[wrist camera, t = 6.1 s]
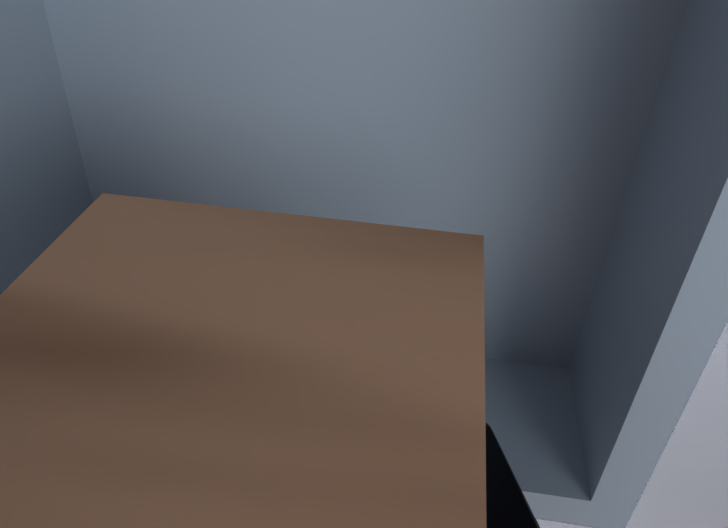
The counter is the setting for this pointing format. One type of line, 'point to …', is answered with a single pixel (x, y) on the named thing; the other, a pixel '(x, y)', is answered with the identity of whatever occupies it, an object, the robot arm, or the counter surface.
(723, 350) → the counter surface
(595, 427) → the tote
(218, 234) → the cube
